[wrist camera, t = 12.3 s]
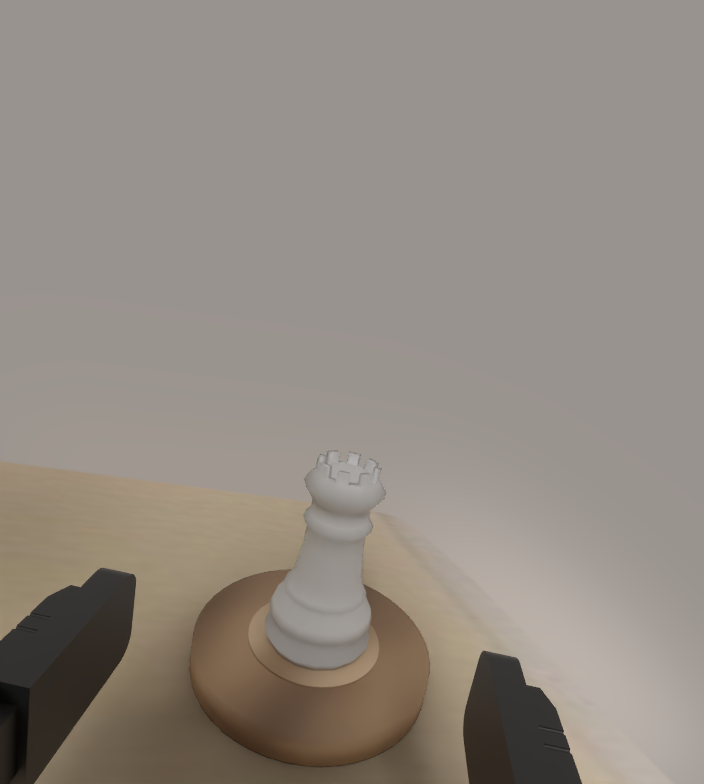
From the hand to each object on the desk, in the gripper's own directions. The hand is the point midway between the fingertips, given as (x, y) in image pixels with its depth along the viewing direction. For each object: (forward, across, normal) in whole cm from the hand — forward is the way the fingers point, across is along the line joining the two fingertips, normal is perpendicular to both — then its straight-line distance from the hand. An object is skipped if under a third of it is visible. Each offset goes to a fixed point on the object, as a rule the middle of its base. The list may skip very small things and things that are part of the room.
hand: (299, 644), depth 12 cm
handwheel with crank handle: (+10, 0, +8) cm, 13 cm away
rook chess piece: (+10, 0, +7) cm, 12 cm away
